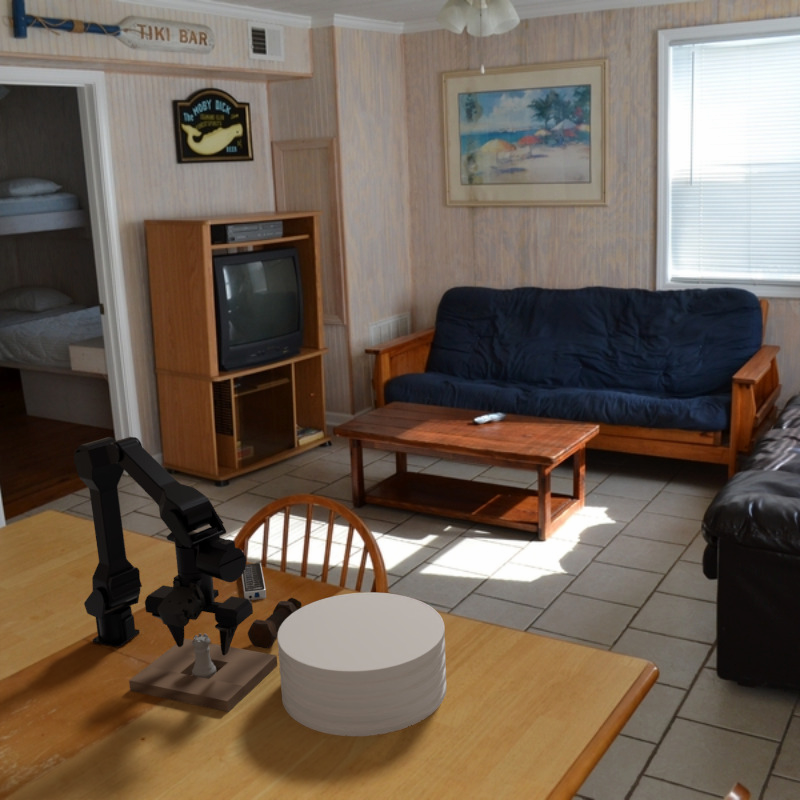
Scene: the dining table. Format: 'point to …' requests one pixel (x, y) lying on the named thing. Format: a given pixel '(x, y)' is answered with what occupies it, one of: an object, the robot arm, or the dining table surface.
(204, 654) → the rook chess piece
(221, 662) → the socket board
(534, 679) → the dining table surface
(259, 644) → the bolt
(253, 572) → the multiport hub
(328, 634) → the plate stack
